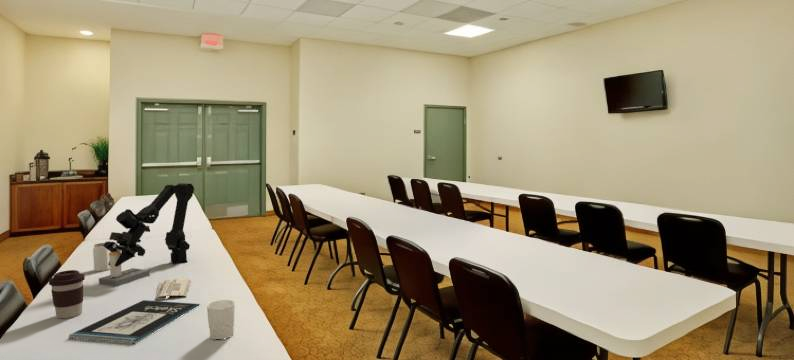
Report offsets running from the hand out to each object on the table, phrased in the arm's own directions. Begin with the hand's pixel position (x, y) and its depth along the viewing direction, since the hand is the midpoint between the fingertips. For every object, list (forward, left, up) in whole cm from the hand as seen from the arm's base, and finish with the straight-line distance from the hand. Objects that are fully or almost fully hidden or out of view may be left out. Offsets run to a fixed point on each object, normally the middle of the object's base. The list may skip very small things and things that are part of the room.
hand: (112, 265), depth 188 cm
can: (+4, -27, -8) cm, 28 cm away
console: (-4, -3, -8) cm, 9 cm away
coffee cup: (+13, +32, -8) cm, 36 cm away
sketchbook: (-7, +51, -8) cm, 52 cm away
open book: (-20, +23, -8) cm, 32 cm away
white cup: (-28, +78, -8) cm, 83 cm away
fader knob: (-1, -1, -5) cm, 5 cm away
